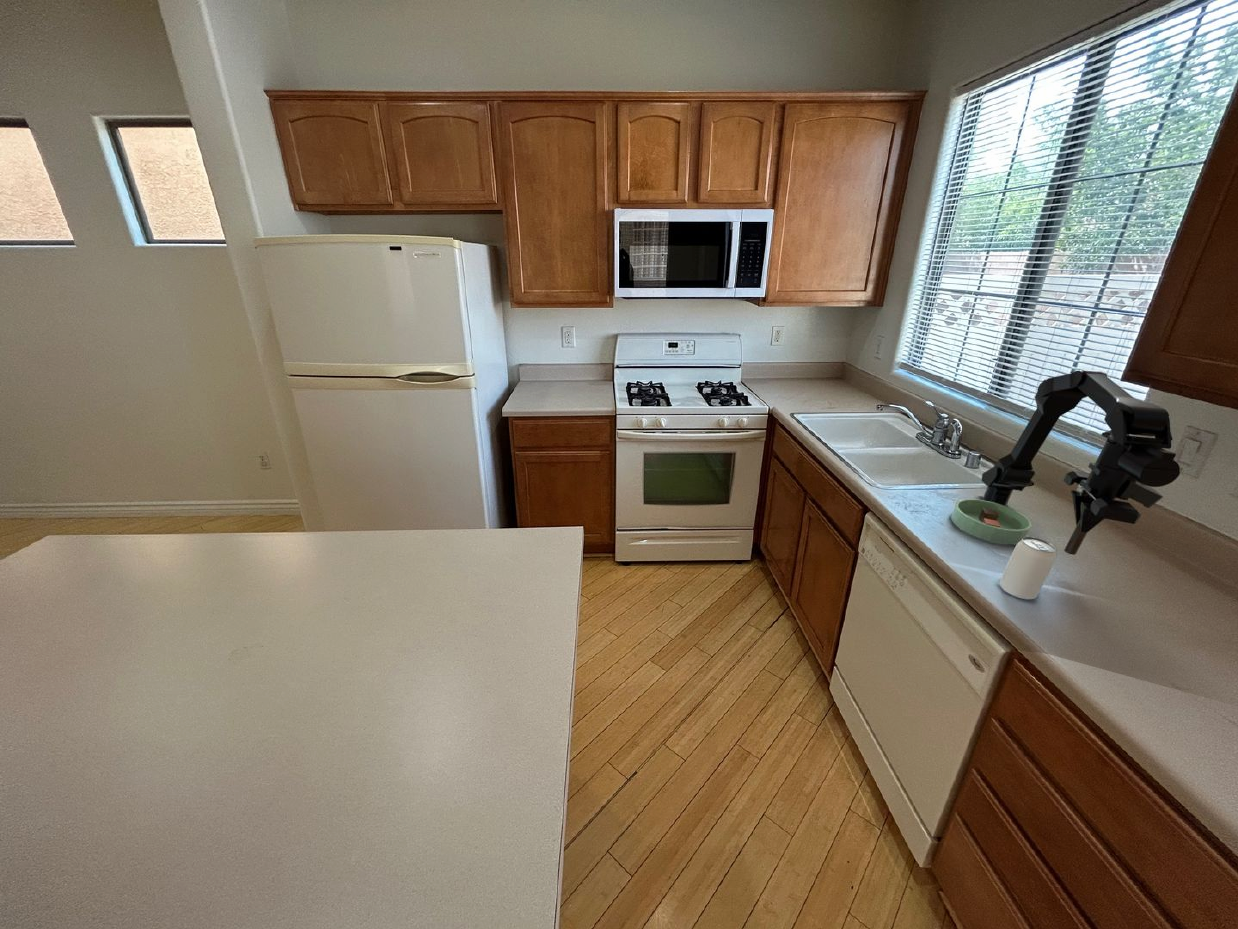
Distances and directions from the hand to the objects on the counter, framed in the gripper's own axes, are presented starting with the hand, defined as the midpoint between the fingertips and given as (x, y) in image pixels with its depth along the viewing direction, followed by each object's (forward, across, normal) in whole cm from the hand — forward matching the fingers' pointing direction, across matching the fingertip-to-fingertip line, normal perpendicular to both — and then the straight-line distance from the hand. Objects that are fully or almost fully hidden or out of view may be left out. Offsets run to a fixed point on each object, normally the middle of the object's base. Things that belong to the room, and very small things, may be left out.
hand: (1081, 529), depth 104 cm
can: (+12, -13, +11) cm, 20 cm away
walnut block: (+11, +19, +10) cm, 24 cm away
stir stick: (+6, 0, 0) cm, 6 cm away
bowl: (+12, +15, +11) cm, 22 cm away
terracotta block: (+11, +12, +12) cm, 20 cm away
